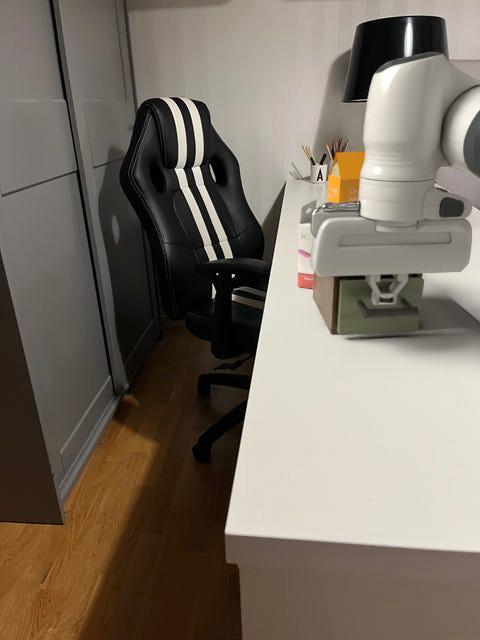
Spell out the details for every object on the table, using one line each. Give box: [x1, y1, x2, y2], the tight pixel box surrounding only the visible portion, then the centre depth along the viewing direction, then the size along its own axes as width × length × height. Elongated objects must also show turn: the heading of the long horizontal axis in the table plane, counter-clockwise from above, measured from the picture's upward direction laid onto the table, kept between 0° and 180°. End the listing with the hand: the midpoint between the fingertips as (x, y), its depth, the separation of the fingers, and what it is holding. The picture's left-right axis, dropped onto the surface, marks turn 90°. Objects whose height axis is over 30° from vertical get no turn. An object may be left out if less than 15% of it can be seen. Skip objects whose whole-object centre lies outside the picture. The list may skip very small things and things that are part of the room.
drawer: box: [337, 274, 425, 336], centre depth 74 cm, size 18×11×8 cm, turn 3°
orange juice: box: [326, 150, 365, 211], centre depth 120 cm, size 8×9×20 cm
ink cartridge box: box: [297, 199, 317, 290], centre depth 91 cm, size 9×5×15 cm, turn 154°
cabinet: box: [312, 272, 424, 335], centre depth 78 cm, size 15×13×10 cm
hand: (383, 303), depth 68 cm, fingers closed
